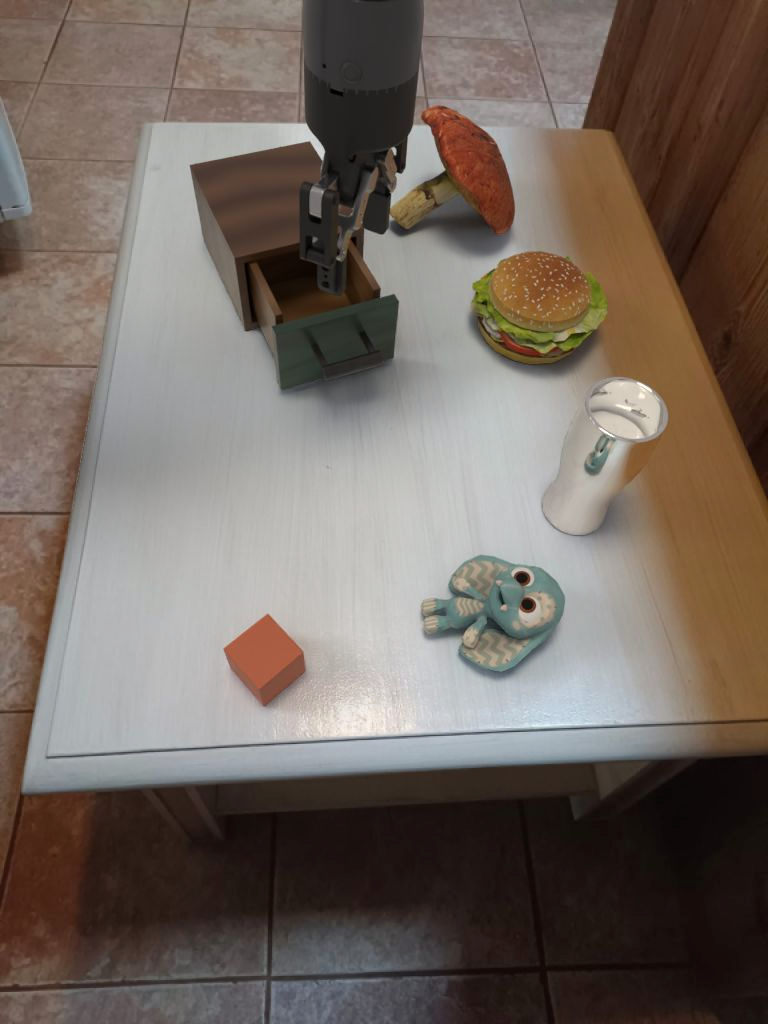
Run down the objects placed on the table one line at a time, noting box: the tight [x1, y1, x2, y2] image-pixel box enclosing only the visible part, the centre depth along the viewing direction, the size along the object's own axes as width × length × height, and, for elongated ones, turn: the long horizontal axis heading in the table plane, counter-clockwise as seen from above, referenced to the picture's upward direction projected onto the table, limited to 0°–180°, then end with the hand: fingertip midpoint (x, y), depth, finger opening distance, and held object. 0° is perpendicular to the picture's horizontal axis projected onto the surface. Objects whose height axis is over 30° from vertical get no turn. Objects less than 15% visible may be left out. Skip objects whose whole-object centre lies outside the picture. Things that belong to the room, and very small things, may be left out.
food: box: [470, 250, 609, 365], centre depth 78 cm, size 14×14×8 cm
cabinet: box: [189, 140, 365, 332], centre depth 80 cm, size 16×14×10 cm
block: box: [223, 613, 307, 707], centre depth 58 cm, size 4×4×4 cm
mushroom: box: [390, 104, 516, 236], centre depth 86 cm, size 16×15×15 cm
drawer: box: [244, 239, 400, 392], centre depth 74 cm, size 19×13×8 cm
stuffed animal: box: [420, 554, 566, 673], centre depth 60 cm, size 11×7×12 cm
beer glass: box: [541, 376, 669, 536], centre depth 63 cm, size 7×7×15 cm
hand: (353, 259), depth 60 cm, fingers open, 8 cm apart
